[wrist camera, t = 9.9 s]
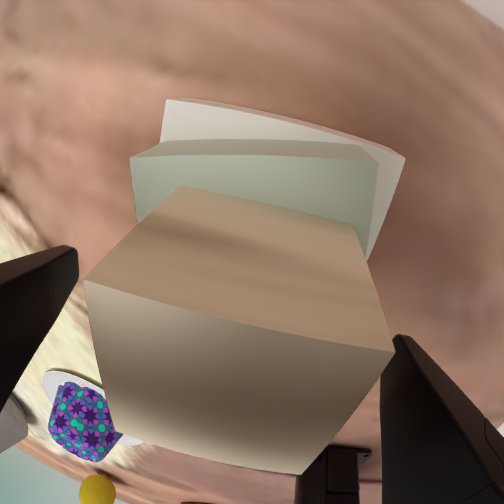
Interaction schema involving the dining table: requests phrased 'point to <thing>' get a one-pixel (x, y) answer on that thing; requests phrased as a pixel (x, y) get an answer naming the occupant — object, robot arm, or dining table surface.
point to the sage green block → (263, 176)
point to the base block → (278, 128)
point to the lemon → (97, 490)
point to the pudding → (81, 417)
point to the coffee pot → (12, 424)
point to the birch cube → (236, 330)
